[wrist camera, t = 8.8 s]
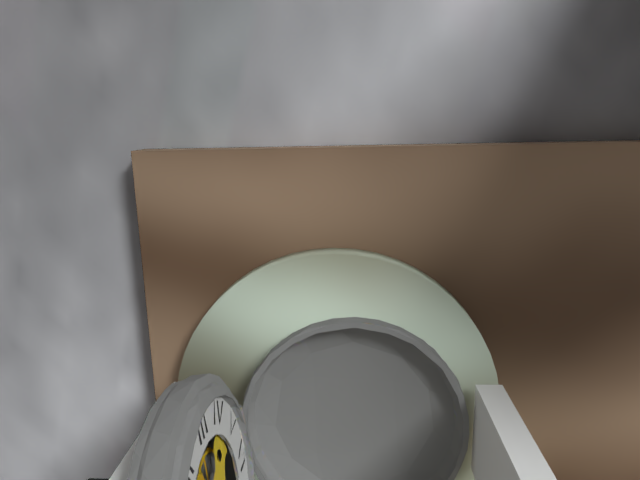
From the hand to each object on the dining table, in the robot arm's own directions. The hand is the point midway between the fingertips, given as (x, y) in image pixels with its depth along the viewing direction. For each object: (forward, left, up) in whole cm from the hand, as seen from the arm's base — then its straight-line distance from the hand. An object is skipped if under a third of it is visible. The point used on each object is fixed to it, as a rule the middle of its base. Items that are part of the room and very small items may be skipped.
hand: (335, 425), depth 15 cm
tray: (+3, +3, -3) cm, 5 cm away
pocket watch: (0, -1, -1) cm, 1 cm away
